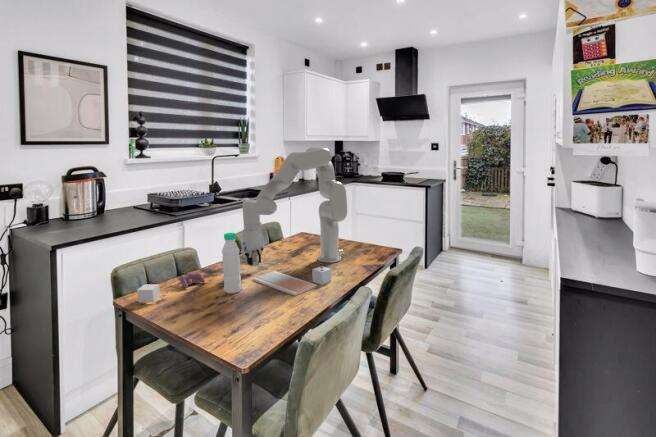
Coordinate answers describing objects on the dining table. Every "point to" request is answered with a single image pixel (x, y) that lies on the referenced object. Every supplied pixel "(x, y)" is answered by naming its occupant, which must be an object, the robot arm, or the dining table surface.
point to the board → (285, 283)
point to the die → (321, 275)
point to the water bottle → (231, 264)
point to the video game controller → (191, 275)
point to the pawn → (255, 258)
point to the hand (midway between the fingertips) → (254, 263)
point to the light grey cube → (148, 293)
